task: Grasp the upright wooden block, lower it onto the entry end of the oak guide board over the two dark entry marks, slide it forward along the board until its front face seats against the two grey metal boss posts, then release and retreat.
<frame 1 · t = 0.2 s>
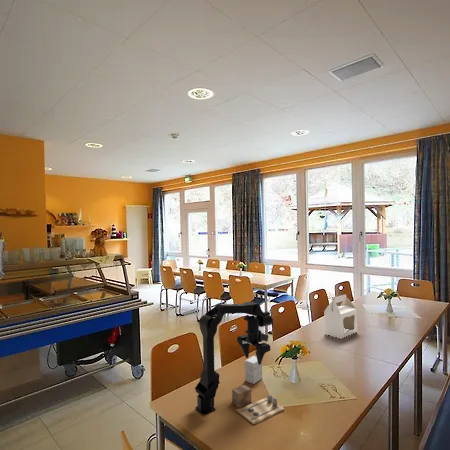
hand: (253, 361, 149), 14 cm above the table, fingers open, 9 cm apart
small box: (253, 380, 160), on the table
upright wooden block: (241, 402, 139), on the table
gable box: (340, 333, 228), on the table
guide board: (260, 410, 132), on the table
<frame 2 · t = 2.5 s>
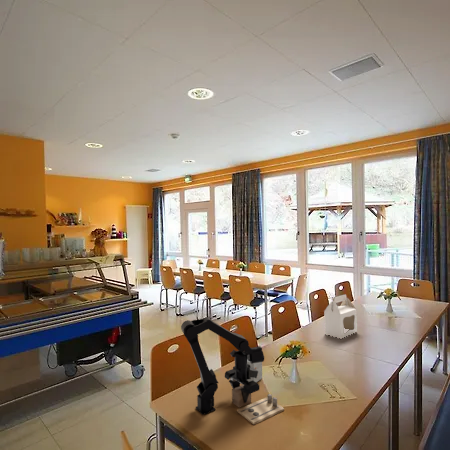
hand: (241, 399, 139), 1 cm above the table, fingers closed on upright wooden block, 5 cm apart
upright wooden block: (241, 402, 139), on the table, touching gripper
everything else where it was.
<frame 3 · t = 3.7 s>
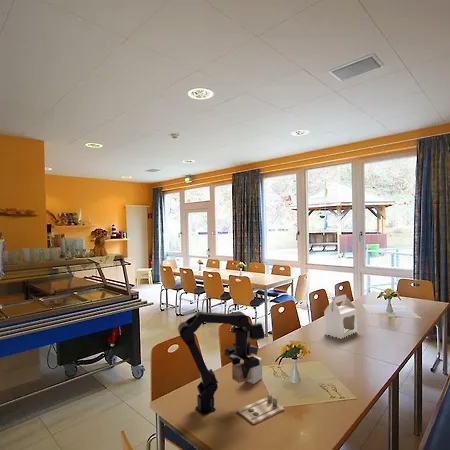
hand: (241, 375, 139), 12 cm above the table, fingers closed on upright wooden block, 5 cm apart
upright wooden block: (241, 378, 139), point 11 cm above the table, touching gripper
everything else where it was.
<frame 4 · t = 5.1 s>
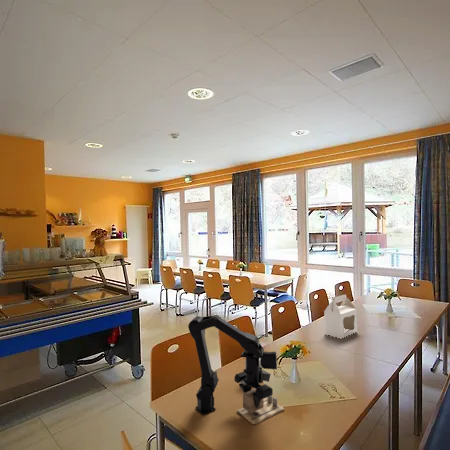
hand: (253, 404, 130), 4 cm above the table, fingers closed on upright wooden block, 5 cm apart
upright wooden block: (253, 407, 130), point 3 cm above the table, touching gripper
everything else where it was.
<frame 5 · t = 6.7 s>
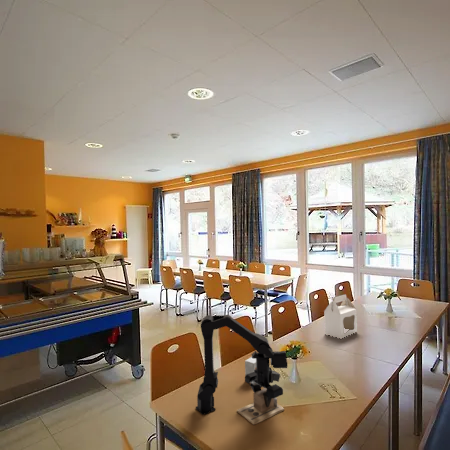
hand: (263, 404, 133), 2 cm above the table, fingers closed on upright wooden block, 5 cm apart
upright wooden block: (263, 407, 133), point 1 cm above the table, touching gripper
everything else where it was.
when the fingers open (2 cm above the table, at t = 7.9 s): upright wooden block stays where it is, resting on guide board.
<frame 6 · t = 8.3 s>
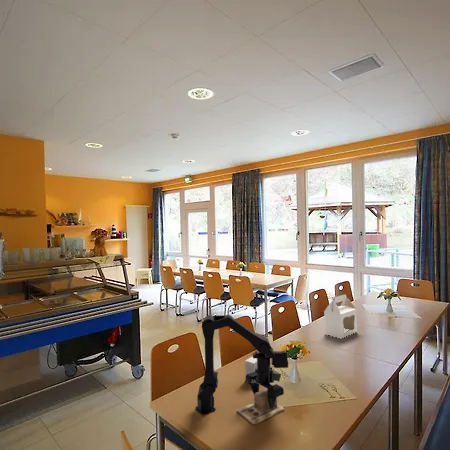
hand: (264, 403, 133), 2 cm above the table, fingers open, 9 cm apart
upright wooden block: (264, 407, 133), point 1 cm above the table, touching guide board
everything else where it was.
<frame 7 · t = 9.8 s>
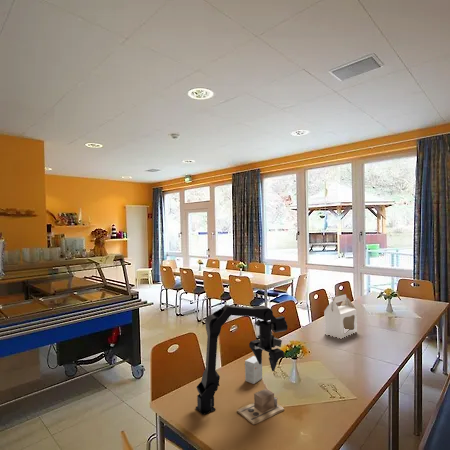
hand: (266, 367, 144), 13 cm above the table, fingers open, 9 cm apart
nothing on the table moved.
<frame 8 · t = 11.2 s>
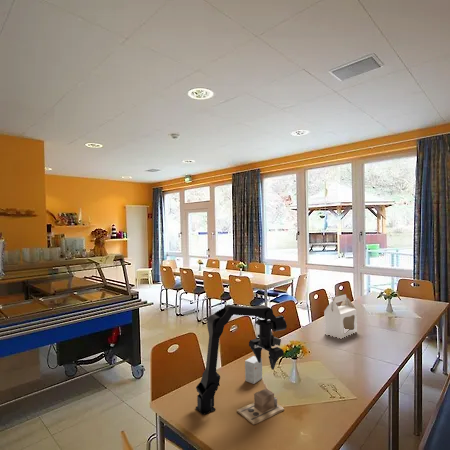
hand: (266, 365, 146), 13 cm above the table, fingers open, 9 cm apart
nothing on the table moved.
at the end: upright wooden block 0.3 cm from the target spot on the guide board, point 0.8 cm above the guide board's base; upright wooden block tilted 0°; the gripper is holding nothing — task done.
